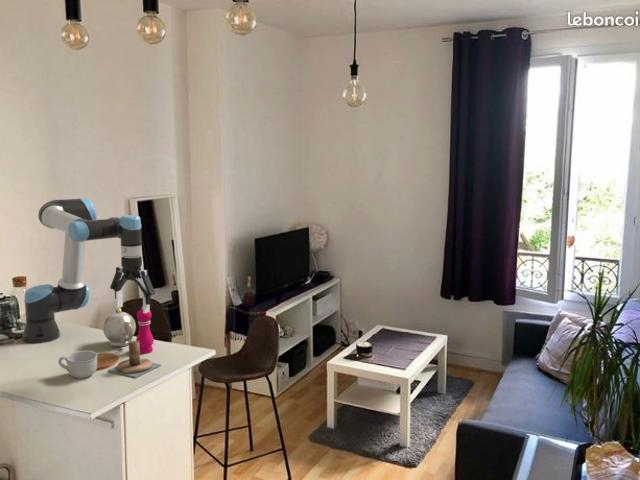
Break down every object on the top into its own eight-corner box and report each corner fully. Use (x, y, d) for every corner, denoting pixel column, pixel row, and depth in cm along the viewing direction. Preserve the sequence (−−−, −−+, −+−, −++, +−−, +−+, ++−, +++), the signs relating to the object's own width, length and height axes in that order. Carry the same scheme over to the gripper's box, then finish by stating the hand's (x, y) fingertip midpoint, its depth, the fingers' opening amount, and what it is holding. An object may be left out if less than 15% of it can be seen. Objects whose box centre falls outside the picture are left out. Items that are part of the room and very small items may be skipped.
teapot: (97, 343, 258) (95, 307, 255) (125, 336, 268) (124, 302, 265) (118, 354, 246) (116, 316, 243) (146, 346, 256) (145, 310, 253)
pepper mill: (132, 352, 248) (131, 306, 245) (143, 347, 255) (142, 302, 252) (146, 355, 246) (145, 309, 242) (157, 349, 252) (156, 304, 249)
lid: (110, 369, 228) (109, 344, 226) (134, 359, 239) (133, 335, 238) (135, 375, 222) (134, 350, 221) (158, 364, 234) (158, 340, 232)
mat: (108, 371, 228) (108, 369, 228) (133, 359, 240) (133, 358, 240) (135, 378, 222) (135, 376, 222) (160, 366, 234) (160, 364, 234)
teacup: (102, 370, 228) (102, 351, 227) (89, 382, 217) (88, 361, 216) (68, 368, 229) (67, 349, 228) (53, 379, 219) (52, 359, 217)
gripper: (99, 254, 225) (101, 307, 229) (150, 261, 215) (151, 317, 219) (114, 251, 232) (115, 302, 236) (163, 258, 222) (164, 312, 225)
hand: (132, 309), depth 227 cm, fingers open, 13 cm apart
